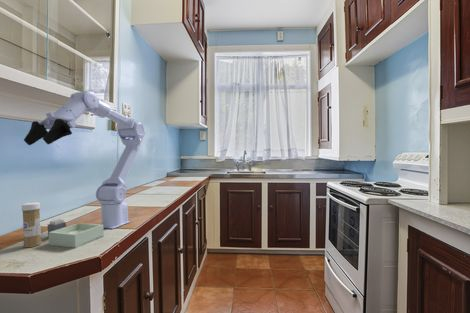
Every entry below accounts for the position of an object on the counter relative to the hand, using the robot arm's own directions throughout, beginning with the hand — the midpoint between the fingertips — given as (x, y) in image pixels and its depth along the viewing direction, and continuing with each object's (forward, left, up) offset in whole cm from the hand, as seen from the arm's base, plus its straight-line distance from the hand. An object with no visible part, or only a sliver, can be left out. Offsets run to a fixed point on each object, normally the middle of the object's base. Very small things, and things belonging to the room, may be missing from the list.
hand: (36, 142), depth 77 cm
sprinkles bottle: (-4, -9, -32) cm, 34 cm away
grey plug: (-13, -10, -32) cm, 36 cm away
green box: (-11, +2, -32) cm, 34 cm away
